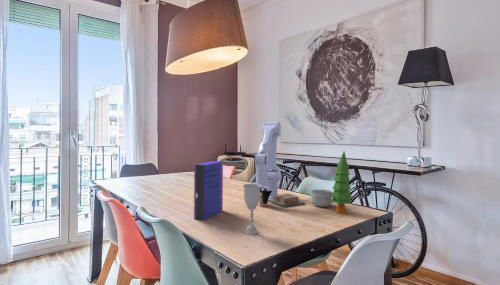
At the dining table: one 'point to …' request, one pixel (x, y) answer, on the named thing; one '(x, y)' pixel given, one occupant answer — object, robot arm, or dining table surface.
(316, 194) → the teacup
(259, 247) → the dining table surface
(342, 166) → the decorative tree
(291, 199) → the base
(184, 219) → the dining table surface
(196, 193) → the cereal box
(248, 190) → the chalice
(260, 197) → the coral block
